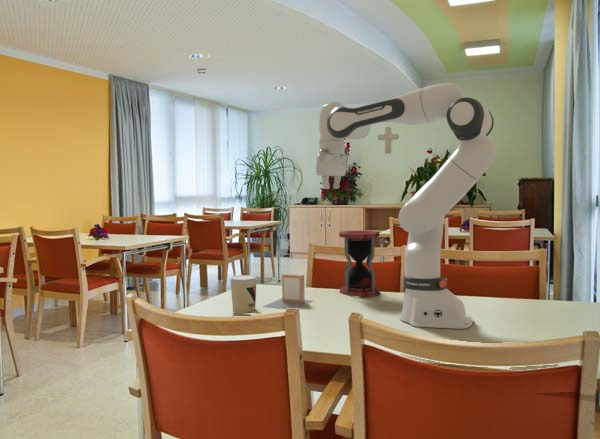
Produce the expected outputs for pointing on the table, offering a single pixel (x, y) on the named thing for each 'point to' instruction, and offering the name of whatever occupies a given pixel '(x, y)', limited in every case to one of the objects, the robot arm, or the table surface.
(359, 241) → the hourglass
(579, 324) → the table surface
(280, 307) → the slate board
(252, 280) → the coffee cup
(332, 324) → the table surface
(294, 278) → the picture frame
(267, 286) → the table surface
